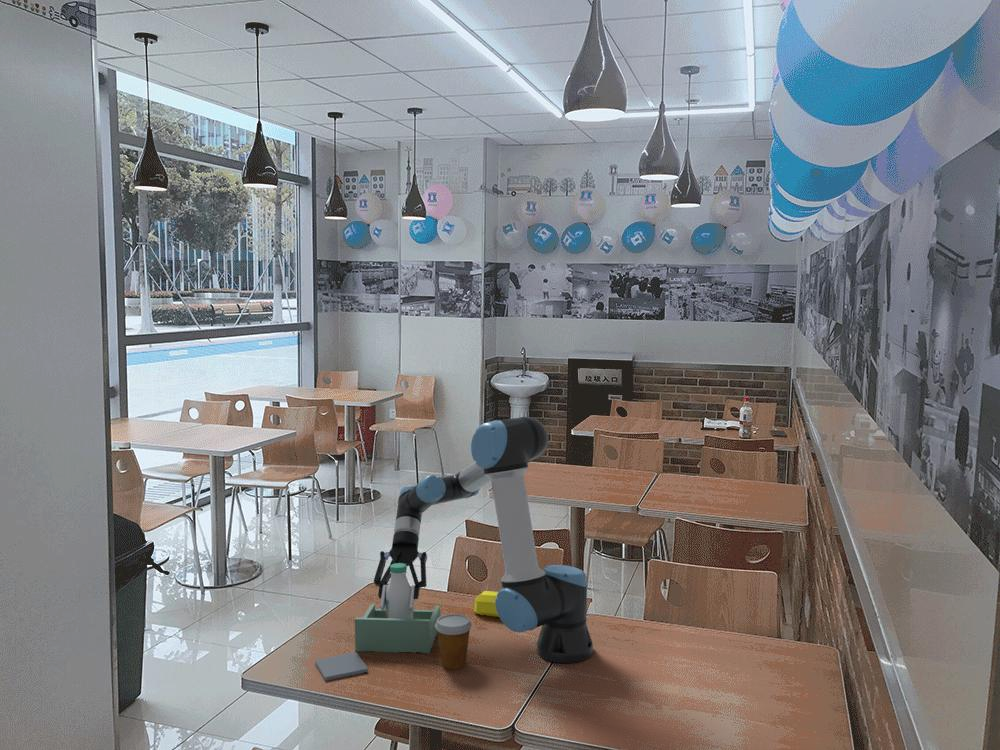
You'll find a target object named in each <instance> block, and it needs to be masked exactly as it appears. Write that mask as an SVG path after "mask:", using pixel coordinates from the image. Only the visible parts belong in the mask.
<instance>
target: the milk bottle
mask: <svg viewBox="0 0 1000 750" xmlns="http://www.w3.org/2000/svg"><path fill="white" fill-rule="evenodd" d="M389 566H390V565H389ZM407 568H408V566H406V564H403V563H395V564H392V565H391V566H390V573H391V578H390V579H389V581H388V583H387V584H388V585H387V586H386V587H387V590H386V596H385V613H386V618H395V619H413V612H412V611H410V608H409V605H410V597H411V589H412V586H411V585H410V583H409V581H408V578H407V571H408V569H407Z"/></svg>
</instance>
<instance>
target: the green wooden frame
mask: <svg viewBox="0 0 1000 750" xmlns="http://www.w3.org/2000/svg"><path fill="white" fill-rule="evenodd" d="M441 616H442V612H441V605H437V604H436V605H434V609H413V619H395V618H386V613H385V609H384V611H381V608H376V603H370V605H369V606H368V608H367V610H366V611H365V613H364V615H362V617H355V618H354V645H355V647H354V649H355V650H354V651H355V652H364V651H375V653H399V652H412V653H411V654H417V653H416V652H420V653H419V654H431V651H432V649H431V648H433V646H434V644H435V641H436V638H437V636H438V633H437V630H436V628H435V624H436V622H437V619H438V618H439V617H441ZM435 637H436V638H435ZM434 640H435V641H434ZM432 645H433V646H432ZM413 652H414V653H413ZM421 652H422V653H421Z"/></svg>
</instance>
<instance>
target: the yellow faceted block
mask: <svg viewBox="0 0 1000 750" xmlns="http://www.w3.org/2000/svg"><path fill="white" fill-rule="evenodd" d="M498 592H499V591H491V590H490V591H489V590H484V591H482V592H481V593H480V594H478V595H477V596H476V597H475V599H474V601H473V605H472V607H473V612H474V613H475V614H477V615H478V614H480V615H479V616H484V615H486V617H494V618H500V617H499V615H498V613H497V610H496V605H495V599H496V597H497V593H498Z"/></svg>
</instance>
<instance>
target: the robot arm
mask: <svg viewBox="0 0 1000 750" xmlns="http://www.w3.org/2000/svg"><path fill="white" fill-rule="evenodd" d="M548 445H549V434H548V431H547V428H546V426H545V425H544V424H543V423H542V422H541V421H539V420H538V419H536V418H534V417H530V416H520V417H513V418H507V419H505V418H504V419H496V420H491V421H488V422H484V423H482V424H480V425H479V426H478V427H477V428H476V429H475V432H474V433H473V435H472V437H471V443H470V452H471V457H472V460H473V461H474V462H472V463H470V464H469V465H468V466H466V467H464V468H462V470H461V471H458V472H457V473H455V474H453V475H448V476H447V475H446V476H443V477H442V476H441V477H440V476H439V475H436V474H429V475H427V476H425V477H424V478H422V479H420V481H419V482H418V483H417V484H416V485H407V486H404V487H402V489H401V490H400V492H399V496H398V499H397V508H396V509H397V510H396V516H395V517H396V518H395V524H394V528H393V537H392V544H391V549H390V550H389V551H386V552H384V551H380V553H379V558H380V559H379V562H378V565H377V569H376V571H375V575H374V578H373V582H374V586H376V587H378V592H377V594H378V599H380V605H379V609H381V611H384V609H385V596H386V590H387V587H388V585H387V584H389V582H390V579H391V573H390V566H391V565H392V564H395V563H403V564H406V566H407V567H409V570H410V574H411V576H412V581H413V583H414V585H413V584H412V585H411V597H410V605H409V608H410V611H412V612H413V610H415V609H414V608H415V607H414V606H415V600H419V596H420V595H419V594H420V590H421V589H422V588H426V587H427V567H426V564H427V561H428V554H427V552H426V551H424V552H419V550H418V548H419V541H420V538H419V537H420V532H421V523H422V517H423V513H425V512H426V511H427V510H428V509H429V508H430V507H432V506H434V505H440V504H444V503H448V502H452V501H456V500H457V501H458V500H462V499H468V498H471V497H473V496H476V495H478V494H479V491H480V490H481V489H482V488H483V487H484V486H486V485H488V484H489V483H491V487H492V488H491V489H492V493H493V501H494V506H495V513H496V519H497V525H498V530H499V537H500V543H501V551H502V556H503V562H504V569H505V570H504V571H505V573H504V574H503V576H502V577H501V580H500V581H501V589H500V590H499V591H497V592H498V593H497V597H496V599H495V605H496V610H497V613H498V615H499V617H498V618H499V619H500V621H501V622H502V624H504V626H506V628H508V629H509V630H510V631H512V632H515V633H525V632H527V631H528V632H529V631H533V630H535V629H537V628H539V627H541V630H540V633H539V635H538V639H537V641H536V652H537V654H538V655H539V657H541V658H542V659H545V660H547V661H549V662H552V663H553V662H554V663H559V664H575V663H579V662H583V661H586V660H587V659H589V658H591V656H592V655H593V654H594V645H593V643H594V642H593V641H592V640H593V639H592V638H591V633H590V631H589V628H588V625H587V614H588V613H587V611H588V610H587V608H588V607H587V603H588V601H587V600H588V597H587V596H588V583H587V581H588V580H587V576H586V573H585V571H583V570H582V569H580V568H577V567H575V566H570V565H564V564H552V565H546V566H545V567H543V569H542V568H540V567H539V563H538V557H537V549H536V543H535V538H534V532H533V525H532V519H531V512H530V505H529V501H528V495H527V489H526V483H525V474H526V472H527V471H528V469H529V463H530V462H532V461H533V460H536V459H538V458H539V457H540V456H542V455H543V454H544V452H545V451H546V450H547V448H548ZM389 557H390V558H391V561H390V564H389V566H388V567H387V569H386V571H385V572H384V570H385V568H386V565H387V561H388V559H389ZM417 558H419V559H418V560H419V561H420V563H419V564H420V581H419V578H418V575H417V573H416V572H417V571H416V569H415V566H414V561H415V560H416V559H417ZM383 574H384V575H383Z"/></svg>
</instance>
